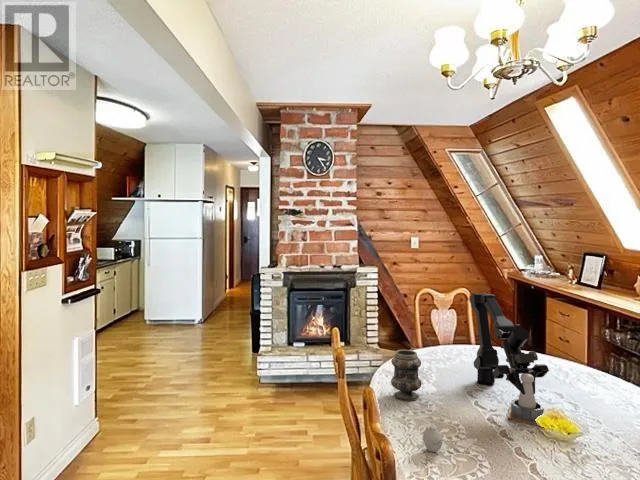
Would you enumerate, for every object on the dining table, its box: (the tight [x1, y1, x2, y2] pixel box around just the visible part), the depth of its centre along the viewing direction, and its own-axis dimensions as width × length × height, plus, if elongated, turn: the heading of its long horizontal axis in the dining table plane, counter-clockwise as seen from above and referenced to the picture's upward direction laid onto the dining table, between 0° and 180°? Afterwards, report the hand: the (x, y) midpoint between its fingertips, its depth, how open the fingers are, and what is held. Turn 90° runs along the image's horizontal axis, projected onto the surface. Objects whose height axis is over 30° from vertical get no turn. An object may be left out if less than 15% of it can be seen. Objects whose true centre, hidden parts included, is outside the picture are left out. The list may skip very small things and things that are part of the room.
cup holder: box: [507, 398, 547, 427], centre depth 153 cm, size 12×12×4 cm
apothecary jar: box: [390, 349, 422, 402], centre depth 173 cm, size 12×12×18 cm
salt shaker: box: [518, 374, 536, 409], centre depth 153 cm, size 6×6×13 cm
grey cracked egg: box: [422, 425, 444, 453], centre depth 131 cm, size 6×7×7 cm
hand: (529, 393), depth 152 cm, fingers closed on salt shaker, 3 cm apart
